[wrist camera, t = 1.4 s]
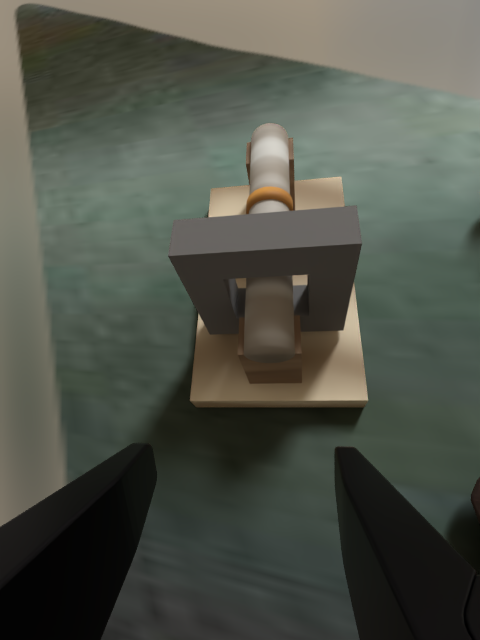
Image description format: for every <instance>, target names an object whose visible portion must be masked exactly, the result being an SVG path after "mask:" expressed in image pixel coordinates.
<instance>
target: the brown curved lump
mask: <svg viewBox="0 0 480 640" xmlns="http://www.w3.org/2000/svg"><path fill="white" fill-rule="evenodd" d="M471 502H472V505H473V508H474V510H475V513H476V516H477V518H478V521H479V524H480V478H479V479H478V480H477V482H476V484H475V487H474V489H473V492H472V494H471Z"/></svg>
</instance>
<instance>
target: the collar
mask: <svg viewBox="0 0 480 640" xmlns="http://www.w3.org/2000/svg"><path fill="white" fill-rule="evenodd" d="M361 246H362V240H361V233H360V226H359V219H358V211H357V205H356V206H344V207H331V208H319V209H306V210H294V211H281V212H269V213H256V214H244V215H231V216H219V217H206V218H194V219H182V220H174V221H173V228H172V234H171V241H170V247H169V254H168V257H169V258H170V260H171V262H172V264H173V266H174V268H175V270H176V272H177V274H178V275H179V277H180V279H181V281H182V283H183V285H184V287H185V289H186V291H187V292H188V294H189V296H190V298H191V300H192V302H193V304H194V306H195V308H196V309H197V311H198V313H199V315H200V317H201V319H202V321H203V323H204V325H205V326H206V328H207V330H208V332H209V334H210V335H213V334H239V318H241V317H245V301H246V288H238V286H237V283H236V280H235V279H237V278H256V277H274V276H293V275H307V285H293V307H294V316H295V315H300V328H301V332H311V331H343V330H344V326H345V321H346V316H347V311H348V307H349V302H350V297H351V293H352V288H353V283H354V278H355V274H356V269H357V264H358V260H359V255H360V250H361Z"/></svg>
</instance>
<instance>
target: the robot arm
mask: <svg viewBox="0 0 480 640" xmlns="http://www.w3.org/2000/svg"><path fill="white" fill-rule="evenodd" d="M156 481H157V471H156V466H155V460H154V454H153V449H152V446H151V445H150V444H149V443H132V444H131V445H129V446H127V447H126V448H124V449H123V450H121V451H119V452H118V453H116V454H115V455H113V456H112V457H110V458H108V459H107V460H105V461H104V462H102V463H101V464H99V465H97V466H96V467H94V468H93V469H91V470H89V471H88V472H86V473H85V474H83V475H82V476H80V477H78V478H77V479H75V480H74V481H72V482H70V483H69V484H67V485H66V486H64V487H63V488H61V489H59V490H58V491H56V492H55V493H53V494H52V495H50V496H48V497H47V498H45V499H44V500H42V501H40V502H39V503H37V504H36V505H34V506H33V507H31V508H29V509H28V510H26V511H25V512H23V513H21V514H20V515H18V516H17V517H15V518H14V519H12V520H11V521H9V522H7V523H6V524H4V525H2V526H1V527H0V640H101V637H102V635H103V632H104V630H105V627H106V625H107V622H108V620H109V617H110V615H111V612H112V610H113V608H114V605H115V603H116V600H117V598H118V595H119V593H120V590H121V588H122V585H123V583H124V580H125V578H126V575H127V573H128V570H129V568H130V565H131V563H132V560H133V558H134V555H135V552H136V550H137V547H138V544H139V540H140V537H141V534H142V530H143V527H144V523H145V520H146V516H147V513H148V510H149V506H150V503H151V499H152V496H153V492H154V489H155V485H156ZM335 492H336V502H337V512H338V521H339V531H340V540H341V550H342V557H343V564H344V569H345V575H346V579H347V584H348V588H349V593H350V597H351V602H352V607H353V611H354V616H355V620H356V625H357V629H358V634H359V638H360V640H480V575H476V570H475V569H474V568H473V567H472V566H471V565H470V564H469V563H468V562H467V561H466V560H465V559H464V558H463V557H462V556H461V555H460V554H459V553H458V552H457V551H456V550H455V549H454V548H453V547H452V546H451V545H450V544H449V543H448V542H447V541H446V540H445V539H444V538H443V537H442V536H441V534H440V533H439V532H438V531H437V530H436V529H435V528H434V527H433V526H432V525H431V524H430V523H429V522H428V521H427V520H426V519H425V518H424V517H423V516H422V515H421V514H420V513H419V512H418V511H417V510H416V509H415V508H414V507H413V506H412V505H411V504H410V503H409V502H408V501H407V500H406V499H405V498H404V497H403V496H402V495H401V494H400V493H399V492H398V491H397V490H396V489H395V487H394V486H393V485H392V484H391V483H390V482H389V481H388V480H387V479H386V478H385V477H384V476H383V475H382V474H381V473H380V472H379V471H378V470H377V469H376V468H375V467H374V466H373V465H372V464H371V463H370V462H369V461H368V460H367V459H366V458H365V457H364V456H363V455H362V454H361V453H360V452H359V451H358V450H357V449H356V448H355V447H340V446H338V447H336V448H335Z"/></svg>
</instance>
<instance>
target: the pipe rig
mask: <svg viewBox="0 0 480 640" xmlns="http://www.w3.org/2000/svg"><path fill="white" fill-rule="evenodd" d="M246 167H247V173H248V179H249V185H245V186H234V187H224V188H213V189H211V196H210V206H209V216H208V217H219V216H231V215H244V214H256V213H269V212H281V211H294V210H306V209H319V208H331V207H344V206H345V204H344V196H343V187H342V179H341V177H332V178H321V179H310V180H300V181H294V154H293V138H288V134H287V132H286V130H285V129H284V128H283V127H281V126H280V125H278V124H274V123H267V124H263V125H261V126H259V127H258V128H257V129H256V130H255V131H254V132H253V134H252V138H251V142H249V143H247V152H246ZM235 280H236V283H237V286H238V288H246V301H245V317H241V318H239V334H213V335H210V334H209V332H208V330H207V328H206V326H205V325H204V323H203V321H202V319H201V317H200V315H198V325H197V335H196V345H195V355H194V365H193V375H192V385H191V395H190V401H191V402H192V403H193V404H194V405H195V406H196V407H365V405H366V403H367V401H368V395H367V387H366V379H365V370H364V362H363V354H362V345H361V337H360V329H359V321H358V312H357V304H356V296H355V287H354V283H353V288H352V293H351V297H350V302H349V307H348V311H347V316H346V321H345V326H344V330H343V331H311V332H301V328H300V315H295V316H294V307H293V285H307V275H293V276H274V277H256V278H237V279H235Z"/></svg>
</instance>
